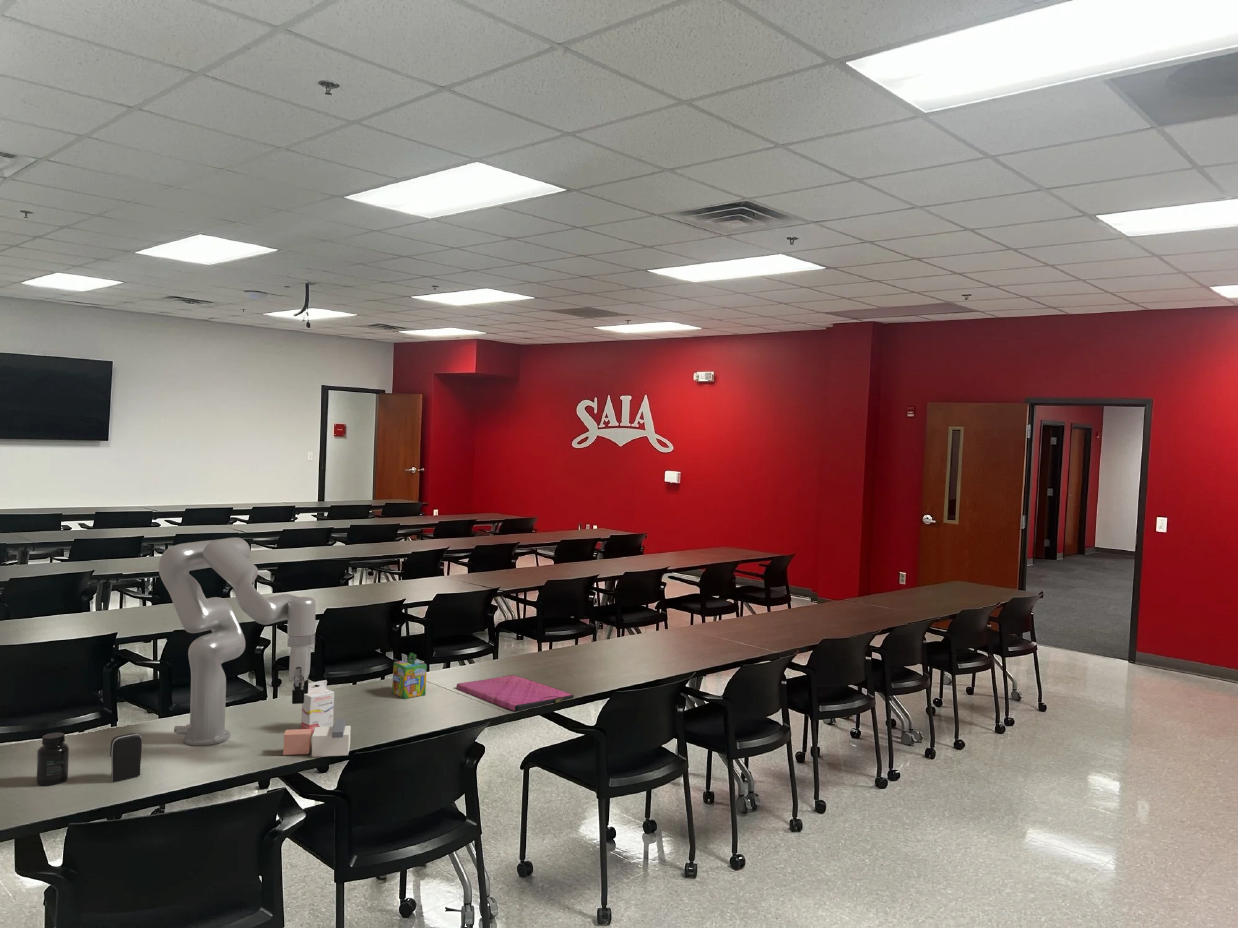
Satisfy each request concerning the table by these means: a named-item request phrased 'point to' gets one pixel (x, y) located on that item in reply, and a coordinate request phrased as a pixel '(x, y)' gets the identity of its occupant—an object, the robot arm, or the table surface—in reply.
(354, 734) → the table surface
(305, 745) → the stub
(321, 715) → the ink cartridge box
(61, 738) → the supplement bottle
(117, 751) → the black rounded block
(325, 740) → the block
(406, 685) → the chalk box
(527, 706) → the laptop bag
